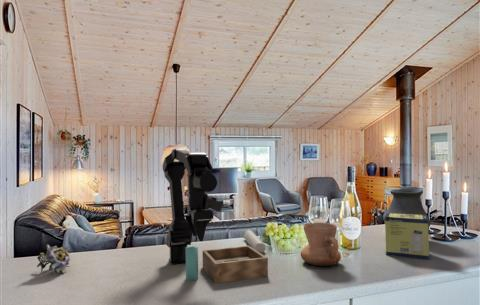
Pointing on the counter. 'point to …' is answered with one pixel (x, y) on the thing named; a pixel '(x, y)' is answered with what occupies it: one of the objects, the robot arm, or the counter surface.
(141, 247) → the counter surface
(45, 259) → the passion flower
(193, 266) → the peg
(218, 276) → the box
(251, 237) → the tube
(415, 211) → the dark grey flared piece
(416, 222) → the protein box
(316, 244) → the ceramic jug
